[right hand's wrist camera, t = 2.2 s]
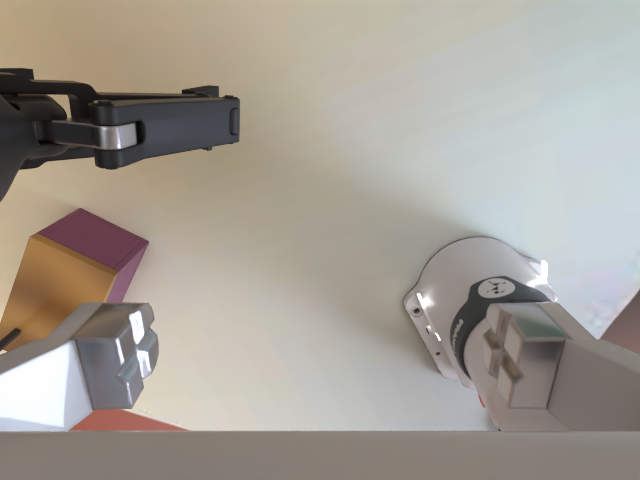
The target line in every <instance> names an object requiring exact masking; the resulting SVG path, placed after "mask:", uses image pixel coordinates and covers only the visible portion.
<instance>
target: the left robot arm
mask: <svg viewBox="0 0 640 480" xmlns="http://www.w3.org/2000/svg"><path fill="white" fill-rule="evenodd" d="M45 94H64V95H68V98H69V102H70V110H71V117H72V118H67V114H66V112H65V110H64V109H63V108H62V107H61V106H60V105H59V104H58V103H57V102H56V101H55V100H54V99H53V98H51V97H50V96H48V95H45ZM239 122H240V99H238V98H237V97H234V96H231V95H225V97H219V86H209V85H208V86H202V87H196V88H190V89H184V90H182V94H162V93H99V92H96V91H95V90H94V89H93V88H92V87H91V86H90V85H88V84H84V83H80V82H75V81H57V80H34V75H33V69H24V68H0V202H1V200H2V199H3V198H4V196H5V195H6V193H7V191H8V190H9V188H10V186H11V184H12V182H13V180H14V178H15V176H16V174H17V172H18V171H19V170H21V169H31V168H37V167H39V166H41V165H42V164H43V163H45V162H47V161H56V160H67V159H78V158H89V157H95V165H96V166H97V167H100V168H105V169H111V170H112V169H118V168H119V167H124V166H127V165H130V164H132V163H135V162H137V161H140V160H143V159H146V158H151V157H157V156H162V155H168V154H174V153H179V152H185V151H190V150H196V149H204V150H207V151H209V150H212V147H213V146H218V145H224V144H233V143H235V142H239Z"/></svg>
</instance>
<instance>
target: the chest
mask: <svg viewBox="0 0 640 480" xmlns="http://www.w3.org/2000/svg"><path fill="white" fill-rule="evenodd" d="M37 233H38V234H40V235H42V236H44V237H46V238H49V239H51V240H53V241H55V242H57V243H59V244H61V245H63V246H66V247H68V248H70V249H72V250H74V251H76V252H78V253H80V254H83V255H85V256H87V257H89V258H91V259H93V260H95V261H97V262H100V263H102V264H104V265H106V266H108V267H110V268H112V269H114V270H117V271H119V273H118V276H117V278H116V280H115V282H114V285H113V287H112V289H111V291H110V294H109V296H108V298H107V300H106V303H107V302H120V303H121V302H122V300H123V298H124V295H125V293H126V291H127V289H128V287H129V285H130V282H131V280H132V278H133V276H134V274H135V271H136V269H137V267H138V265H139V263H140V261H141V258H142V256H143V254H144V252H145V250H146V248H147V245H148V243H149V242H148V241H146V240H144V239H142V238H140V237H138V236H136V235H134V234H132V233H130V232H128V231H126V230H124V229H122V228H120V227H118V226H116V225H114V224H112V223H110V222H107V221H105V220H103V219H101V218H99V217H97V216H95V215H93V214H91V213H89V212H87V211H85V210H83V209H81V208H80V209H78V210H76V211H74V212H72V213H71V214H69V215H67V216H65V217H64V218H62V219H60V220H58V221H57V222H55V223H53V224H51V225H50V226H48V227H46V228H44V229H43V230H41V231H39V232H37Z"/></svg>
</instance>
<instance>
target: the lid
mask: <svg viewBox="0 0 640 480" xmlns="http://www.w3.org/2000/svg"><path fill="white" fill-rule="evenodd" d="M118 273H119V271H117V270H114V269H112V268H110V267H108V266H106V265H104V264H102V263H100V262H97V261H95V260H93V259H91V258H89V257H87V256H85V255H83V254H80V253H78V252H76V251H74V250H72V249H70V248H68V247H66V246H63V245H61V244H59V243H57V242H55V241H53V240H51V239H49V238H46V237H44V236H42V235H40V234H38V233H36V234H34V235H32V236H30V238H29V241H28V244H27V247H26V250H25V253H24V255H23V258H22V261H21V264H20V267H19V270H18V273H17V276H16V279H15V282H14V285H13V288H12V290H11V293H10V296H9V299H8V302H7V305H6V308H5V311H4V314H3V317H2V320H1V323H0V351H1V350H2V349H3V350H5V351H11V350H13V349H16V348H18V347H20V346H23V345H25V344H27V343H30V342H32V341H35V340H44V339H45V338H46V337H47V336H48V335H49V334H50V333H51V332H52V331H53V330H54V329H55V328H56V327H57V326H58V325H59V324H60V323H61V322H63V321H64V320H65V319H66V318H67V317H68V316H69V315H70V314H71V313H72V312H73V311H74V310H75V309H76V308H77V307H78V306H79V305H80V304H81V303H86V302H106V300H107V298H108V296H109V294H110V291H111V289H112V287H113V285H114V282H115V280H116V278H117V276H118Z"/></svg>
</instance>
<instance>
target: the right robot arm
mask: <svg viewBox="0 0 640 480" xmlns="http://www.w3.org/2000/svg"><path fill="white" fill-rule="evenodd" d="M546 281H547V263H546V262H545V261H542V264H541V263H540V262H539V261H537V260H534V259H531V258H528V257H523V256H521V255H520V254H518V253H517V252H516V251H515V250H513V249H512V248H511V247H510V246H508V245H507V244H505V243H503V242H501V241H499V240H496V239H492V238H486V237H473V238H467V239H463V240H459V241H457V242H454V243H452V244H450V245H448V246H446V247H445V248H443V249H442V250H440V251H439V252H438V253H437V254H435V255H434V256H433V257H432V259H431V260H430V261H429V262H428V264H427V265H426V266H425V268H424V270H423V272H422V274H421V277H420V279H419V281H418V283H417V285H416V286H415V287H414V288H413V289H412V290H411V291H410V292H409V293H408V294H407V296H406V297H405V298H404V301H403V304H404V307H405V309H406V310H407V312H408V314H409V316H410V318H411V320H412V321H413V323H414V325H415V327H416V329H417V330H418V332H419V334H420V336H421V338H422V339H423V341H424V343H425V345H426V347H427V349H428V350H429V352H430V354H431V356H432V358H433V359H434V361H435V363H436V365H437V367H438V368H439V370H440V372H441V374H442V375H443V377H444V378H447V379H451V380H458V381H461V383H462V385H463V386H465V387H467V388H471V389H477V391H478V395H479V399H480V401H481V404H482V405H483V407H484V408H486V410H487V412H488V414H489V416H490V418H491V419H492V421H493V422H494V423H495V425H496V426H497V427H498V429H499V431H68V430H69V429H71V428H72V427H73V426H75V425H76V424H77V423H79V422H80V421H81V420H83V419H84V418H85V417H87V416H88V415H89V414H90V413H92V412H93V410H103V409H132V407H133V406H134V404H135V402H136V400H137V399H138V397H139V395H140V393H141V392H142V390H143V388H144V386H143V379H144V378H146V377H148V376H149V375H151V374H152V372H153V370H154V368H155V366H156V363H157V358H158V354H159V343H158V337H157V334H156V333H155V332H154V331H153V330H152V329H151V328H150V325H151V324H152V322H153V321H154V314H153V310H152V307H151V306H150V304H149V303H120V302H107V303H106V302H86V303H81V304H80V305H79V306H78V307H77V308H76V309H75V310H74V311H73V312H72V313H71V314H70V315H69V316H68V317H67V318H66V319H65V320H64V321H63V322H61V323H60V324H59V325H58V326H57V327H56V328H55V329H54V330H53V331H52V332H51V333H50V334H49V335H48V336H47V337H46V338H45V339H44V340H35V341H32V342H30V343H27V344H25V345H23V346H20V347H18V348H16V349H13V350H11V351H8V352H6V353H4V354H1V355H0V480H640V355H639V354H636V353H634V352H632V351H629V350H627V349H624V348H622V347H620V346H617V345H615V344H612V343H610V342H608V341H605V340H596V339H595V338H594V337H593V336H592V335H591V334H590V333H589V332H588V331H587V330H586V329H585V328H584V327H583V326H582V325H581V324H580V323H579V322H578V321H576V320H575V319H574V318H573V317H572V316H571V315H570V314H569V313H568V312H567V311H566V310H565V309H564V308H563V307H562V306H561V305H560V304H558V303H556V300H557V299H558V298H557V295H556V293H555V292H554V291H553V289H552V288H551V287H550V286H549V285H548V284H547V282H546ZM417 308H418V310H417V311H414V309H417Z"/></svg>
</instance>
